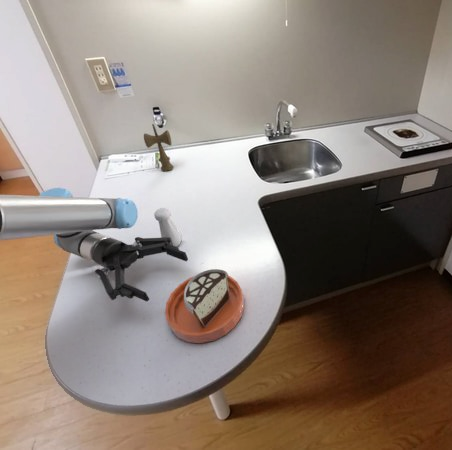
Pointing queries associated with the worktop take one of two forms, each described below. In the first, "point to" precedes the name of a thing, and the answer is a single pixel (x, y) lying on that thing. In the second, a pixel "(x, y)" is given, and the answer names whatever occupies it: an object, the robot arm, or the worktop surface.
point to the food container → (207, 294)
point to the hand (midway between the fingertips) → (167, 275)
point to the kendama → (160, 147)
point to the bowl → (188, 323)
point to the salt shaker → (167, 226)
